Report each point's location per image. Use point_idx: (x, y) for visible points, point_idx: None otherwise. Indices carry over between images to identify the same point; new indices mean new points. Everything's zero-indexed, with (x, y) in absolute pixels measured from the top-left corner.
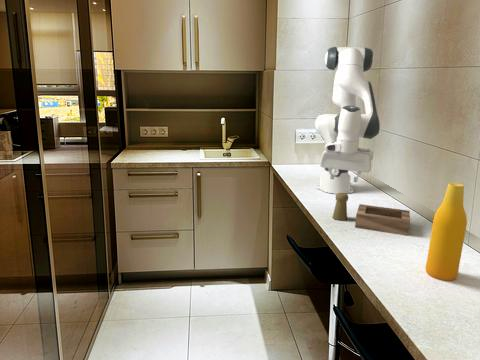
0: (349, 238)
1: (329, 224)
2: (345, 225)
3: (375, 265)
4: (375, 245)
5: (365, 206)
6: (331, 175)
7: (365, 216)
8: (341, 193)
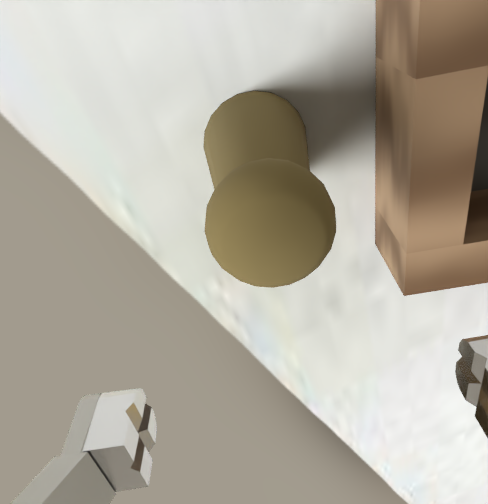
0: (365, 368)
1: None
2: None
3: (458, 473)
4: None
5: (481, 52)
6: (108, 486)
7: (462, 282)
8: (267, 257)
